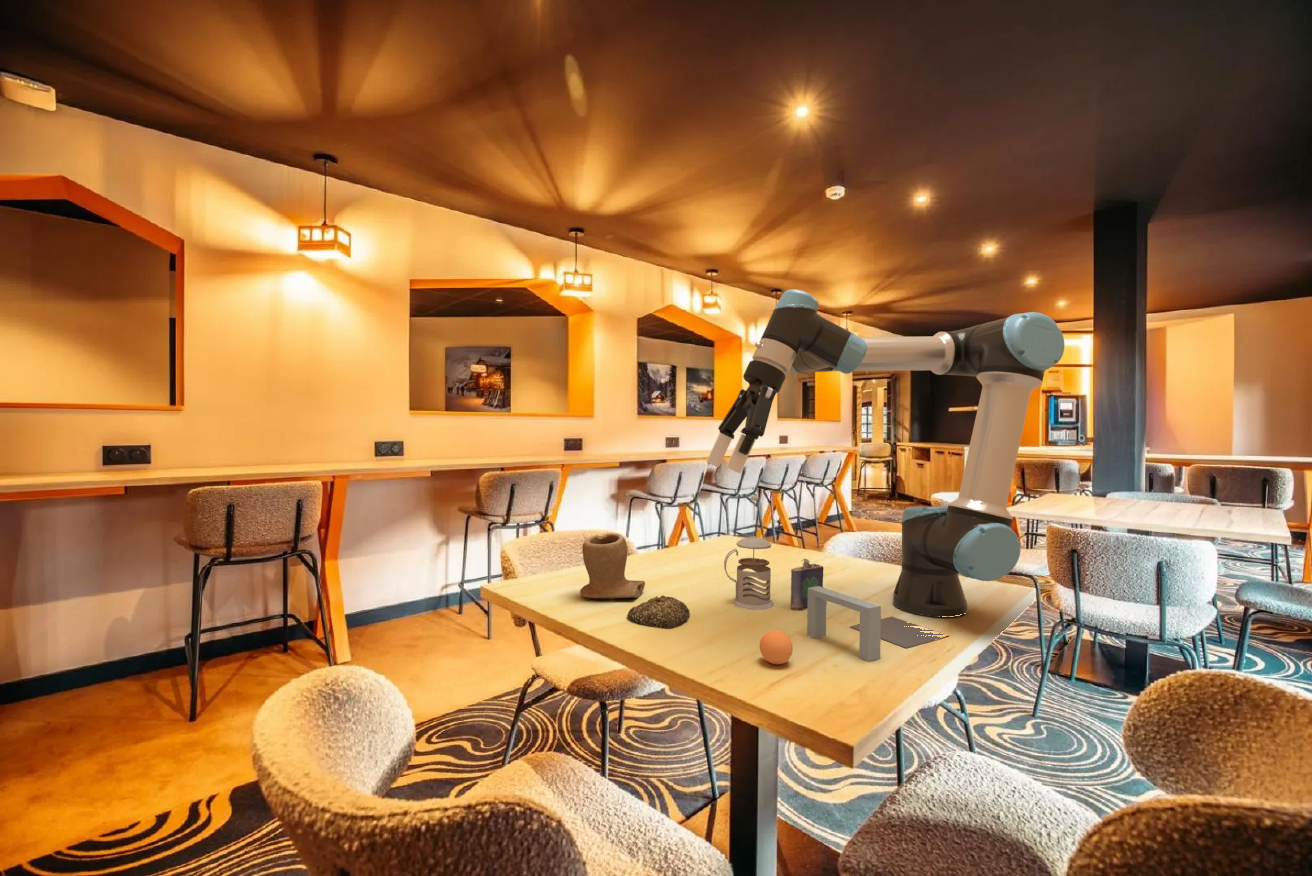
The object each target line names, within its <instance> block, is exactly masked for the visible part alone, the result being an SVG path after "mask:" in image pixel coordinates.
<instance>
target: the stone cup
mask: <svg viewBox="0 0 1312 876" xmlns="http://www.w3.org/2000/svg"><path fill="white" fill-rule="evenodd" d="M581 548H582V558H583V563H584V566H585V568H586V572H587V574H588V575H587V576H588V580H589V581H588V583H587V584H585V585H583V586H582V587H581V588H580V591H579V592H580V593H579V594H580V595H581V596H582V597H584V598H586V599H587V598H588V599H630V598H631V599H632V598H636V599H637V598H639V597H640V596H641V595H642V593H643V591H644V589H645V585H646V582H645V580H630V579H627V578H626V577H625V575H626V574H625V572H626V567H627V560H628V545H627V541H626V538H625V537H624V536H623V535H622V534H620V533H614V532H609V533H606V534H603V535H599V534H597V535H596V534H595V535H593V536H590V537H588V538H586V539H585V540H584V541H583V543H582V547H581Z"/></svg>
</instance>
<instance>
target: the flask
mask: <svg viewBox="0 0 1312 876" xmlns="http://www.w3.org/2000/svg"><path fill="white" fill-rule="evenodd" d="M801 562H803V563H802V566H798V567H795V568H791V570H790V571H791V572H790V574H791V575H790V576H791V578H790V581H791V582H790V609H791V610H794V611H803V610H806V609H807V607H808V588H811V587H817V586H820V587H823V588H824V583H823V582H824V566H823V565H821V564H817V563H810V562H811V561H810V560H809V559H807V558H803V559H802V560H801Z"/></svg>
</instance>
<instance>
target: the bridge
mask: <svg viewBox="0 0 1312 876" xmlns="http://www.w3.org/2000/svg"><path fill="white" fill-rule="evenodd" d="M827 602H829V603H832V604H835V605H837V606H840V607H842V608H843V607H844V608H846V609H849V610H853V611H855V612H859V624H860V631H859V650H858V651H859V654H858V655H859V656H858V658H859V659H862V660H864V661H865V662H872V661H876V660H879V659H881V642H882V641H881V640H882V639H881V619H882V611H881V610H882V605H880V604H877V603H873V602H870V601H867V600H863V599H860V598H858V597H857V598H856V597H854V596H851V595H848V594H845V593H842V592H839V591H835V590H832V589H829V588H825V587H824V586H823V587H820V586H817V587H811V588H808V607H807V614H806V615H807V616H806V617H807V618H806V619H807V623H806V624H807V625H806V626H807V627H806V635H807V636H808V637H809V638H812V639H819V638H824V637H827Z"/></svg>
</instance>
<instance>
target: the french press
mask: <svg viewBox="0 0 1312 876" xmlns="http://www.w3.org/2000/svg"><path fill="white" fill-rule="evenodd" d="M749 499H750V501H753V519H755V517H756V516H755V509H756V508H755V507H756V506H755V501H759V497H758V495H756V494H755V495H753V494H752V495H751V496H750V498H749ZM735 545H736V546H737V547H739V548H742V549H747V550H748V549H749V550H750V549H751V550H752V552H753V556H752V557H745V558H744V557H743V558H739V559H738V560H737V562H738V564H739V565H737V566H736V579H734V578H733V577H731V576H730V575H729V574H728V571H727V563H728V559H729V557H730V556H731V555H732V554H733V553H735V555H736V557H739V551H738V549H736V548H734V549H732V550H730V551H729V552H727V554H726V556H725V558H724V562H723V563H724V564H723V565H724V566H723V567H724V568H723V569H724V571H725V574H726V577H727V578H729V580H730V581H732V582H733V583H735V598H733V599H732V601H731V604H732V605H733V606H734V607H737V608H740V609H746V610H753V611H763V610H769V609H772V608H775V606H776V605H775V604H776V603H775V602H774V601H773V600H772V599H771V583H772V582H771V575H772V574H771V573H772V572H771V570H772V569H771V568H770V567H769V566H768V565H770V561H769V560H767V559H764V558H759V557H758V558H756V557H755V550H766V549H770V548H772V543H771V542H769V541H768V540H767V539H765V538H762V537H758V536H755V532H753V535H752V536H750V537H744V538H741V539H740V540H738V541H737V542H736V544H735ZM747 569H748V570H752V571H747ZM755 578H757V579H758V580H761V581H758V580H757V579H755ZM762 581H763V582H762ZM756 584H757V585H756ZM763 587H764V588H763Z"/></svg>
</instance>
